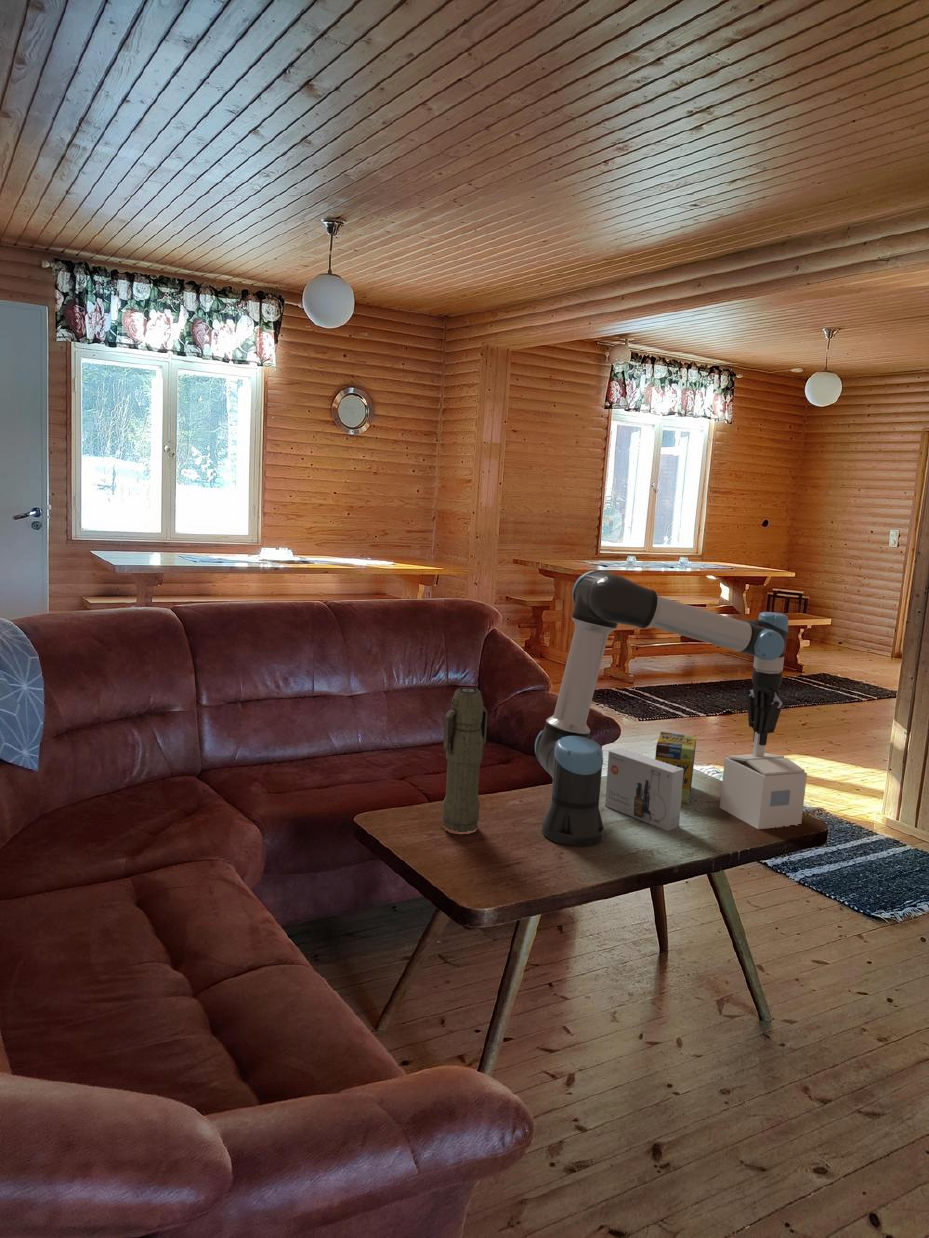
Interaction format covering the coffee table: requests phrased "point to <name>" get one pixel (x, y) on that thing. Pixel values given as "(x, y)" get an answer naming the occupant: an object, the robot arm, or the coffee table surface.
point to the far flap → (751, 757)
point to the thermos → (464, 759)
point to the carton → (762, 795)
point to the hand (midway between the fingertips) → (758, 755)
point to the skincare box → (644, 788)
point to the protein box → (678, 756)
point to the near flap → (775, 766)
